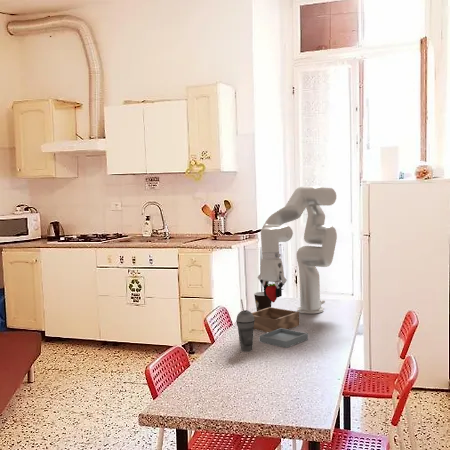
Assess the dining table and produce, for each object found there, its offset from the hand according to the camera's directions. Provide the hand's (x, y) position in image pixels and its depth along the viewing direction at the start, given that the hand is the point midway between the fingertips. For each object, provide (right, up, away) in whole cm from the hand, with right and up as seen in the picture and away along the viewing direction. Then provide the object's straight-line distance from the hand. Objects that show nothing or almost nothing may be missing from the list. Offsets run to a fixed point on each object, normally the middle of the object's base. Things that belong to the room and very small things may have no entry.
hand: (272, 295), depth 262 cm
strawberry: (0, -3, 0) cm, 3 cm away
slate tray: (+3, -16, -21) cm, 26 cm away
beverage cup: (-13, -18, -31) cm, 38 cm away
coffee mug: (-2, -12, +25) cm, 28 cm away
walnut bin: (0, -14, +1) cm, 14 cm away
